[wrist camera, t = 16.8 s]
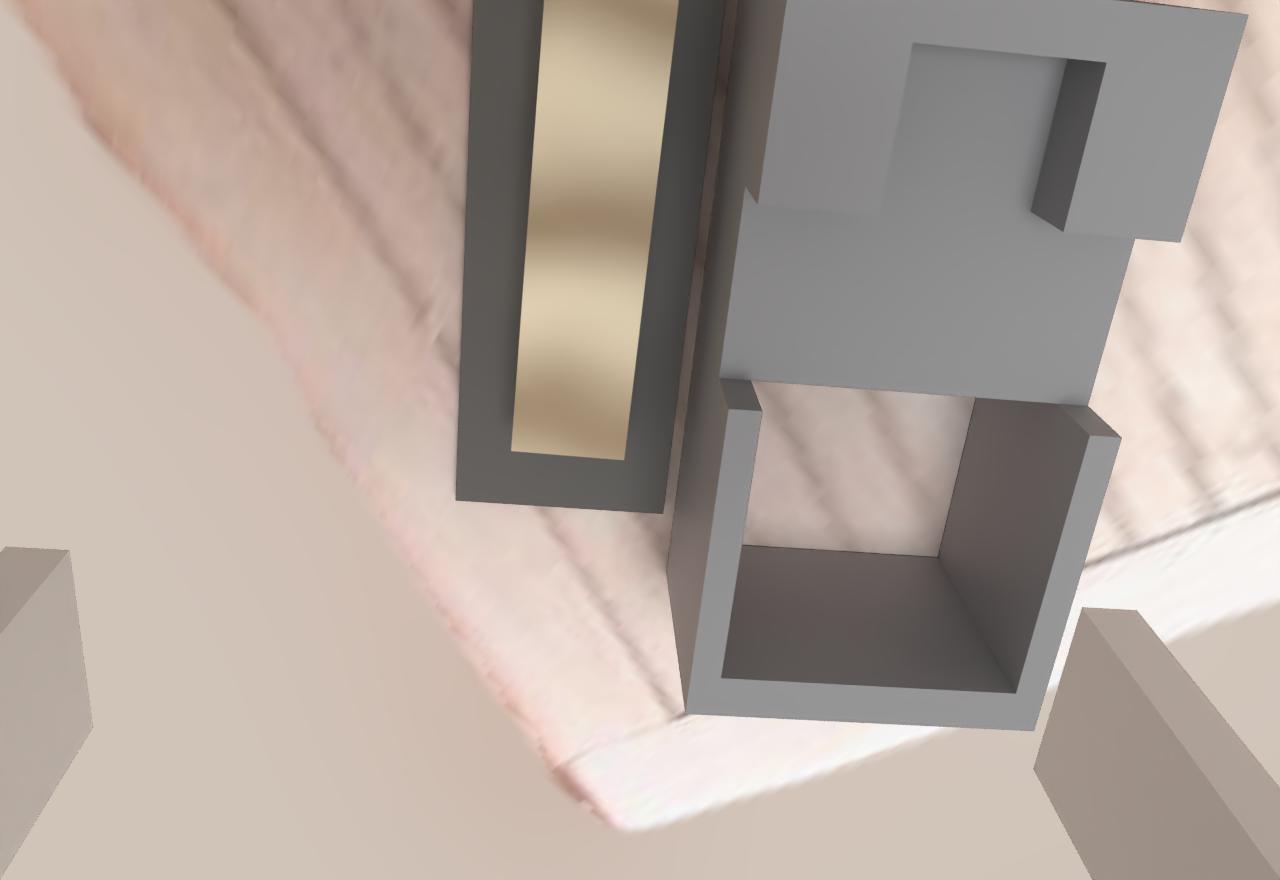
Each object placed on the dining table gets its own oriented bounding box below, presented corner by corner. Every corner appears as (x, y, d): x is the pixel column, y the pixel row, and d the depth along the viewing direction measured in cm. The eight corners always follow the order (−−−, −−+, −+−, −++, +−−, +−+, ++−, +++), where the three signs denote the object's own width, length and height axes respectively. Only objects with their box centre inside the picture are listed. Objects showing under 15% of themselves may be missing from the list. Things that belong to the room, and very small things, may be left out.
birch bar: (554, -113, 35) (552, -116, 32) (683, -97, 35) (690, -99, 33) (514, 422, 42) (511, 450, 40) (621, 431, 42) (624, 460, 40)
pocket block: (743, -43, 36) (791, -35, 28) (1101, -4, 37) (1248, 14, 29) (666, 572, 46) (685, 713, 37) (954, 590, 47) (1034, 731, 38)
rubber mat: (477, -71, 35) (476, -72, 35) (728, -44, 36) (730, -44, 36) (457, 493, 44) (455, 500, 43) (662, 506, 44) (662, 514, 44)
